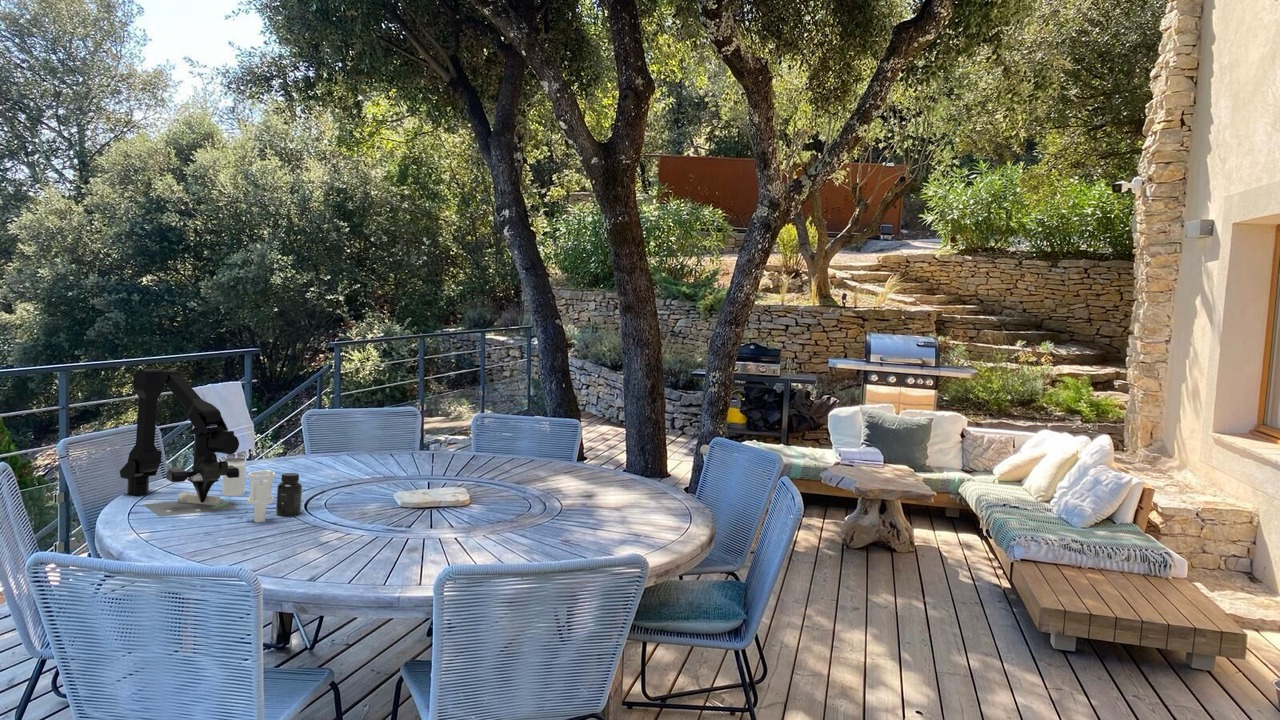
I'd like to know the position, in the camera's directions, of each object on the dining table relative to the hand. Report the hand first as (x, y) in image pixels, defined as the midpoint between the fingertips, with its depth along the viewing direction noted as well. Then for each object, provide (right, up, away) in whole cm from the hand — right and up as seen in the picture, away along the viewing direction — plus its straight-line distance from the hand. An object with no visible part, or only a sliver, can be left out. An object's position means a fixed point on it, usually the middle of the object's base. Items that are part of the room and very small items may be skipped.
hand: (202, 502), depth 254 cm
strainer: (+20, -4, -7) cm, 22 cm away
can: (+1, -2, +18) cm, 18 cm away
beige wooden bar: (-2, -1, +3) cm, 4 cm away
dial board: (-3, -2, -1) cm, 4 cm away
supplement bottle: (+25, -4, +3) cm, 25 cm away
